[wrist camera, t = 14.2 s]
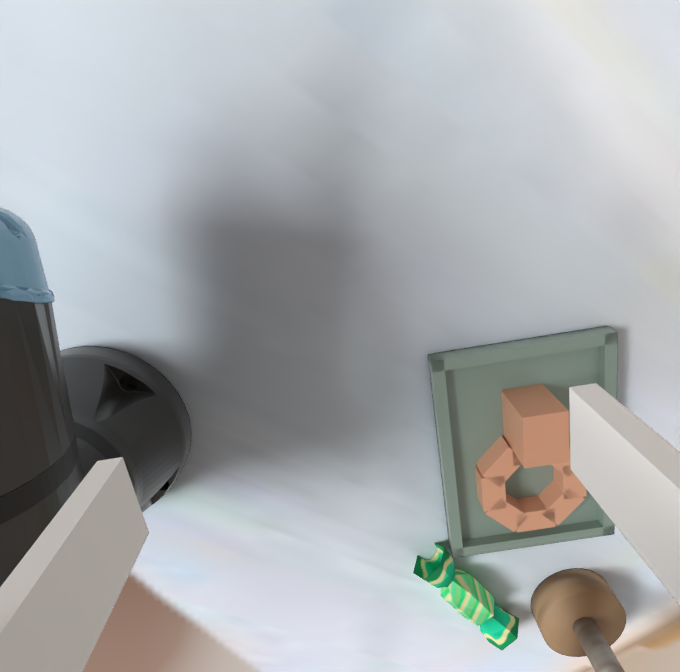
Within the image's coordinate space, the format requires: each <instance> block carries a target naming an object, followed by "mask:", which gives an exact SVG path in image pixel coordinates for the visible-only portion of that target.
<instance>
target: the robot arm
mask: <svg viewBox="0 0 680 672" xmlns="http://www.w3.org/2000/svg"><path fill="white" fill-rule="evenodd" d="M52 302H54V295H53V292H52V291H51V290H49V289H48V285H47V281H46V278H45V274H44V270H43V266H42V263H41V259H40V255H39V251H38V247H37V242H36V239H35V236H34V234H33V232H32V230H31V229H30V227H29V226H28V225H27V224H26V222H24V221H23V220H22V219H21V218H20V217H19V216H17V215H16V214H14V213H12V212H11V211H9V210H6V209H4V208H0V672H83V669H84V667H85V665H86V663H87V661H88V659H89V657H90V655H91V653H92V651H93V648H94V647H95V644H96V642H97V640H98V638H99V636H100V634H101V632H102V630H103V628H104V626H105V624H106V621H107V620H108V617H109V615H110V613H111V611H112V609H113V607H114V605H115V603H116V601H117V599H118V596H119V594H120V592H121V590H122V588H123V586H124V584H125V582H126V580H127V578H128V576H129V574H130V572H131V570H132V567H133V565H134V563H135V561H136V559H137V557H138V555H139V553H140V551H141V549H142V547H143V544H144V542H145V540H146V538H147V536H148V534H149V531H148V528H147V526H146V523H145V520H144V517H143V514H142V512H144V511H145V510H146V509H147V508H149V507H150V506H151V505H152V504H154V503H155V502H156V501H158V500H159V499H160V498H161V497H162V496H163V495H164V494H165V493H166V492H167V491H168V490H169V489H170V488H171V486H172V485H173V484H174V482H175V481H176V479H177V477H178V476H179V473H180V471H181V469H182V467H183V465H184V463H185V461H186V458H187V456H188V453H189V449H190V443H191V427H190V421H189V417H188V413H187V410H186V408H185V405H184V403H183V401H182V399H181V398H180V396H179V394H178V393H177V391H176V390H175V388H174V387H173V386H172V385H171V383H170V382H169V381H168V380H167V379H166V378H165V377H164V376H163V375H162V374H161V373H160V372H158V371H157V370H156V369H155V368H153V367H152V366H150V365H149V364H147V363H146V362H144V361H142V360H140V359H138V358H137V357H134V356H132V355H130V354H127V353H124V352H121V351H118V350H114V349H110V348H104V347H90V346H87V347H75V348H70V349H65V350H62V351H60V348H59V342H58V337H57V331H56V325H55V319H54V313H53V307H52ZM569 402H570V463H571V470H572V471H573V473H574V474H575V475H576V476H577V478H578V479H579V480H580V481H581V483H582V484H583V485H584V486H585V488H586V489H587V490H588V492H589V493H590V494H591V495H592V497H593V498H594V499H595V500H596V502H597V503H598V504H599V505H600V507H601V508H602V509H603V510H604V512H605V513H606V514H607V515H608V517H609V518H610V519H611V520H612V522H613V523H614V524H615V525H616V527H617V528H618V529H619V530H620V532H621V533H622V534H623V535H624V537H625V538H626V539H627V540H628V542H629V543H630V544H631V546H632V547H633V548H634V549H635V551H636V552H637V553H638V554H639V556H640V557H641V558H642V559H643V561H644V562H645V563H646V564H647V566H648V567H649V568H650V569H651V571H652V572H653V573H654V574H655V576H656V577H657V578H658V579H659V581H660V582H661V583H662V584H663V586H664V587H665V588H666V589H667V591H668V592H669V593H670V594H671V596H672V597H673V598H674V600H675V601H676V602H677V603H678V605H679V606H680V451H678V450H677V449H676V448H675V447H673V446H672V445H671V444H670V443H669V442H667V441H666V440H665V439H664V438H662V437H661V436H660V435H659V434H658V433H656V432H655V431H654V430H653V429H651V428H650V427H649V426H648V425H647V424H645V423H644V422H643V421H642V420H640V419H639V418H638V417H637V416H636V415H634V414H633V413H632V412H631V411H629V410H628V409H627V408H626V407H625V406H623V405H622V404H621V403H620V402H618V401H617V400H616V399H615V398H614V397H612V396H611V395H610V394H609V393H607V392H606V391H605V390H604V389H603V388H601V387H600V386H599V385H598V384H596V383H594V384H587V385H581V386H574V387H569Z"/></svg>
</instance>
